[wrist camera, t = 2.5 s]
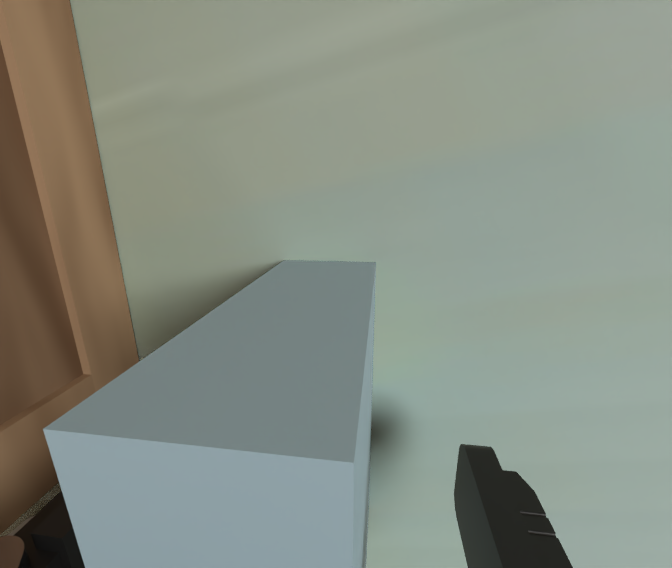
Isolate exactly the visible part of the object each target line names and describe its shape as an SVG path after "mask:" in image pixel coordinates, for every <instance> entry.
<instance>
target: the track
mask: <svg viewBox="0 0 672 568" xmlns="http://www.w3.org/2000/svg"><path fill="white" fill-rule="evenodd" d="M138 362H139V358H138V353H137V347H136V342H135V337H134V332H133V327H132V322H131V316H130V311H129V306H128V301H127V296H126V290H125V285H124V280H123V275H122V270H121V264H120V259H119V254H118V249H117V244H116V239H115V233H114V228H113V223H112V218H111V213H110V207H109V202H108V197H107V192H106V187H105V182H104V176H103V171H102V166H101V161H100V156H99V150H98V145H97V140H96V135H95V130H94V124H93V119H92V114H91V109H90V104H89V99H88V93H87V88H86V83H85V78H84V73H83V67H82V62H81V57H80V52H79V47H78V41H77V36H76V31H75V26H74V21H73V16H72V10H71V5H70V0H0V534H1V533H2V532H4V531H5V530H6V529H7V528H8V527H9V526H10V525H11V524H13V523H14V522H15V521H16V520H17V519H18V518H19V517H20V516H21V515H23V514H24V513H25V512H26V511H27V510H28V509H29V508H30V507H31V506H33V505H34V504H35V503H36V502H37V501H38V500H39V499H40V498H41V497H43V496H44V495H45V494H46V493H47V492H48V491H49V490H50V489H52V488H53V487H54V486H55V485H56V484H57V483H58V482H59V480H58V477H57V474H56V470H55V467H54V464H53V460H52V457H51V454H50V451H49V447H48V444H47V441H46V437H45V434H44V431H43V429H44V428H45V427H47V426H48V425H49V424H51V423H52V422H54V421H55V420H57V419H58V418H59V417H61V416H62V415H64V414H65V413H67V412H68V411H69V410H71V409H72V408H74V407H75V406H77V405H78V404H79V403H81V402H82V401H84V400H85V399H87V398H88V397H89V396H91V395H92V394H94V393H95V392H97V391H98V390H99V389H101V388H102V387H104V386H105V385H107V384H108V383H109V382H111V381H112V380H114V379H115V378H117V377H118V376H119V375H121V374H122V373H124V372H125V371H127V370H128V369H129V368H131V367H132V366H134V365H135V364H137V363H138Z"/></svg>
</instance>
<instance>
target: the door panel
mask: <svg viewBox="0 0 672 568" xmlns="http://www.w3.org/2000/svg"><path fill="white" fill-rule="evenodd" d="M375 278H376V262H343V261H302V260H283V261H282V262H281V263H279V264H278V265H276V266H275V267H274V268H272V269H271V270H269V271H268V272H266V273H265V274H264V275H262V276H261V277H259V278H258V279H256V280H255V281H254V282H252V283H251V284H249V285H248V286H246V287H245V288H244V289H242V290H241V291H239V292H238V293H236V294H235V295H234V296H232V297H231V298H229V299H228V300H226V301H225V302H224V303H222V304H221V305H219V306H218V307H216V308H215V309H214V310H212V311H211V312H209V313H208V314H206V315H205V316H204V317H202V318H201V319H199V320H198V321H196V322H195V323H194V324H192V325H191V326H189V327H188V328H186V329H185V330H184V331H182V332H181V333H179V334H178V335H176V336H175V337H174V338H172V339H171V340H169V341H168V342H166V343H165V344H164V345H162V346H161V347H159V348H158V349H157V350H155V351H154V352H152V353H151V354H149V355H148V356H147V357H145V358H144V359H142V360H141V361H139V362H138V363H137V364H135V365H134V366H132V367H131V368H129V369H128V370H127V371H125V372H124V373H122V374H121V375H119V376H118V377H117V378H115V379H114V380H112V381H111V382H109V383H108V384H107V385H105V386H104V387H102V388H101V389H99V390H98V391H97V392H95V393H94V394H92V395H91V396H89V397H88V398H87V399H85V400H84V401H82V402H81V403H79V404H78V405H77V406H75V407H74V408H72V409H71V410H69V411H68V412H67V413H65V414H64V415H62V416H61V417H59V418H58V419H57V420H55V421H54V422H52V423H51V424H49V425H48V426H47V427H45V428H44V429H43V431H44V434H45V437H46V441H47V444H48V447H49V451H50V454H51V457H52V460H53V464H54V467H55V470H56V474H57V477H58V480H59V483H60V487H61V490H62V493H63V497H64V500H65V503H66V506H67V510H68V513H69V516H70V520H71V523H72V526H73V529H74V533H75V536H76V539H77V543H78V546H79V549H80V552H81V556H82V559H83V562H84V566H85V568H366V556H367V535H368V514H369V484H370V449H371V415H372V381H373V347H374V312H375Z"/></svg>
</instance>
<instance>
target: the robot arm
mask: <svg viewBox="0 0 672 568" xmlns="http://www.w3.org/2000/svg"><path fill="white" fill-rule="evenodd" d="M454 500H455V511H456V517H457V521H458V526H459V530H460V535H461V539H462V543H463V548H464V552H465V557H466V561H467V566H468V568H573V567H572V565H571V563H570V561H569V559H568V557H567V555H566V553H565V551H564V549H563V547H562V545H561V543H560V541H559V539H558V538H556V536H555V531H554V529H553V527H552V525H551V523H550V521H549V519H548V518H546V515H545V514H546V513H545V511H544V509H543V507H542V505H541V503H540V501H539V500H538V498H537V496H536V494H535V492H534V490H533V489H532V488H531V487H530V486H529V485H528V484H527V483H526V482H525V481H524V480H523V479H522V478H521V476H520V475H519V474H518V473H517V472H513V471H504V470H502V468H501V466H500V464H499V461H498V459H497V457H496V454H495V452H494V450H493V449H492V448H491V447H487V446H476V445H465V444H461V445H460V448H459V455H458V463H457V472H456V480H455V489H454ZM0 568H85V566H84V562H83V559H82V556H81V552H80V549H79V546H78V543H77V539H76V536H75V533H74V529H73V526H72V523H71V520H70V516H69V513H68V510H67V506H66V503H65V500H64V497H63V493H62V491H61V492H60V493H58V494H57V495H56V496H55V497H54V498H53V499H52V500H51V501H50V502H49V503H48V504H47V505H46V506H45V507H44V508H42V509H41V510H40V511H39V512H38V513H37V514H36V515H35V516H34V517H33V518H32V519H31V520H30V521H29V522H27V523H26V524H25V525H24V526H23V527H22V528H21V529H20V530H19V531H18V532H17V533H15V534H14V535H13V536H12V535H8V536H1V537H0Z"/></svg>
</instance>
